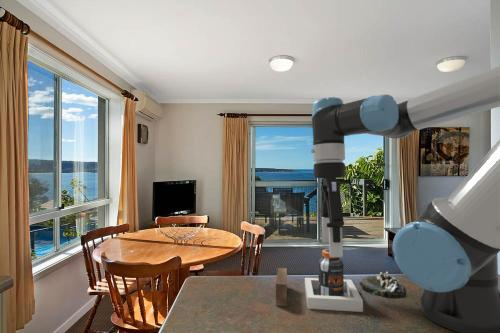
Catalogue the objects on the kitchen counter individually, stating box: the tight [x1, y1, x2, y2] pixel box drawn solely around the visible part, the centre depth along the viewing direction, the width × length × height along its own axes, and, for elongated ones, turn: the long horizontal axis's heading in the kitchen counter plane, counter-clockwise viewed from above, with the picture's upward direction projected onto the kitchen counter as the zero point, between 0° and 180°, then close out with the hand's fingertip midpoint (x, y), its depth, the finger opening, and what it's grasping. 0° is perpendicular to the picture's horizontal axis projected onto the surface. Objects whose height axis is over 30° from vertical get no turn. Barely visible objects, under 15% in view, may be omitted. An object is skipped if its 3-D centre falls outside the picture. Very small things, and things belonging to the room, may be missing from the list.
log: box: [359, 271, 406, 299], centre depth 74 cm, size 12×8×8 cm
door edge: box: [275, 267, 288, 307], centre depth 70 cm, size 2×11×5 cm, turn 172°
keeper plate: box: [304, 277, 364, 313], centre depth 68 cm, size 12×12×2 cm
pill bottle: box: [317, 248, 345, 297], centre depth 69 cm, size 6×6×11 cm
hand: (331, 248), depth 68 cm, fingers open, 13 cm apart
